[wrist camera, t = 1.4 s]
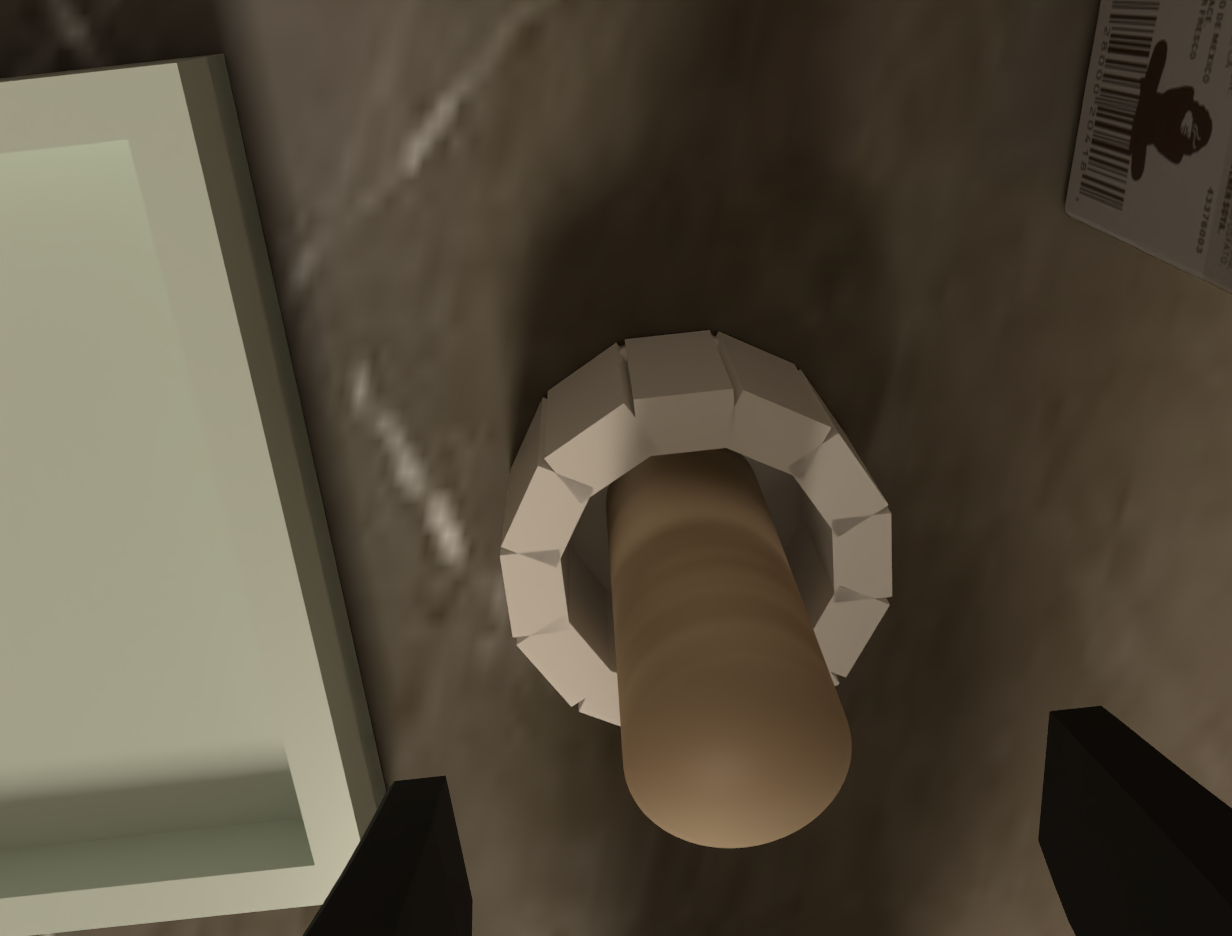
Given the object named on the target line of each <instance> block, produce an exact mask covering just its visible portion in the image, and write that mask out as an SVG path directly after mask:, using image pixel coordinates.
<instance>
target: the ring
mask: <svg viewBox="0 0 1232 936" xmlns="http://www.w3.org/2000/svg"><path fill="white" fill-rule="evenodd" d="M720 448H728V449H730V450H732V451H735V452H737V453H740V454H742V455H743V456H744V457H745V459H746V460H747V461H748V463H749V464H750V466H751V467H752V469H753V471H754V473H755V476H756V478H757V481H758V483H759V486H760V489H761V491H762V494H763V497H764V499H765V502H766V505H767V507H768V510H769V513H770V515H771V518H772V521H773V523H774V526H775V529H776V531H777V534H778V537H779V539H780V542H781V545H782V547H783V550H784V553H785V555H786V558H787V561H788V563H789V566H790V569H791V571H792V574H793V577H794V579H795V582H796V585H797V587H798V590H799V593H800V595H801V598H802V601H803V603H804V606H805V609H806V611H807V614H808V617H809V619H810V622H811V625H812V627H813V630H814V633H815V635H816V638H817V641H818V643H819V646H820V649H821V651H822V654H823V657H824V659H825V662H826V665H827V667H828V670H829V673H830V675H831V678H832V681H833V683H834V686H837V685H838V684H840V683H839V681H838V678H837V675H836V674H838V675H841V676H843V677H847V675H848V673H849V672H850V670H851V668H852V667H853V665H854V663H855V662H856V660H857V658H858V657H859V655H860V654H861V652H862V650H863V649H864V647H865V645H866V644H867V642H868V640H869V639H870V637H871V635H872V634H873V632H874V630H875V629H876V627H877V625H878V624H879V622H880V620H881V619H882V617H883V615H884V614H885V612H886V611H887V609H888V607H889V606H890V604H889V602H888V600H887V598H886V597H892V535H891V512H890V510H889V509H888V507H887V506H888V503H887V502H886V500H885V498H884V497H883V495H882V493H881V492H880V490H879V488H878V487H877V485H876V483H875V482H874V480H873V479H872V477H871V475H870V474H869V472H868V470H867V469H866V467H865V465H864V464H863V462H862V460H861V459H860V457H859V456H858V454H857V452H856V451H855V449H854V447H853V446H852V444H851V442H850V441H849V439H848V438H847V436H846V434H845V433H844V431H843V430H842V428H841V427H840V425H839V424H838V422H837V421H836V420H835V418H834V417H833V415H832V414H831V412H830V411H829V409H828V408H827V407H826V405H825V404H824V402H823V401H822V399H821V398H820V397H819V395H818V394H817V392H816V391H815V389H814V388H813V386H812V385H811V384H810V382H809V381H808V379H807V378H806V376H805V375H804V373H803V372H802V371H801V369H800V370H797V368H796V366H795V365H794V364H793V363H791V362H788V361H786V360H784V359H781V358H779V357H777V356H775V355H772V354H770V353H768V352H765V351H763V350H761V349H758V348H756V347H754V346H751V345H749V344H747V343H744V342H742V341H740V340H738V339H735V338H733V337H731V336H728V335H726V334H724V333H721V332H719V331H718V333H717V335H716V336H713V335H712V334H711V332H710V330H705V331H696V332H687V333H678V334H668V335H659V336H650V337H641V338H632V339H625V345H622V346H620V347H619V345H618V344H617V343H615V344H613V345H612V346H611V347H609V348H608V349H606V350H605V351H603V352H602V353H601V354H599V355H598V356H596V357H595V358H594V359H592V360H591V361H589V362H588V363H586V364H585V365H584V366H582V367H581V368H579V369H578V370H577V371H575V372H574V373H572V374H571V375H570V376H568V377H567V378H565V379H564V380H562V381H561V382H560V383H558V384H557V385H555V386H554V387H553V388H551V389H550V390H548V398H547V399H546V398H543V397H542V400H541V402H540V404H539V406H538V409H537V411H536V413H535V415H534V418H533V420H532V422H531V424H530V427H529V429H528V431H527V433H526V436H525V438H524V440H523V442H522V445H521V447H520V449H519V451H518V454H517V456H516V458H515V460H514V462H513V465H512V467H511V471H510V478H509V486H508V494H507V502H506V510H505V518H504V526H503V534H502V542H501V550H500V560H501V567H502V573H503V579H504V585H505V592H506V598H507V604H508V611H509V617H510V623H511V630H512V636H513V637H517V644H516V645H517V646H518V647H519V649H520V650H521V651H522V652H523V653H524V654H525V655H526V656H527V658H528V659H529V660H530V661H531V662H532V663H533V664H534V665H535V667H536V668H537V669H538V670H539V671H540V672H541V673H542V674H543V676H544V677H545V678H546V679H547V680H548V681H549V682H550V683H551V684H552V686H553V687H554V688H555V689H556V690H557V691H558V692H559V693H560V695H561V696H562V697H563V698H564V699H565V700H566V701H567V702H568V704H569V705H570V706H571V707H572V706H574V705H575V704H577V703H578V702H579V712H581V713H584V714H587V715H590V716H592V717H595V718H598V719H601V720H604V721H606V722H609V723H612V724H615V725H618V726H621V725H620V710H619V695H618V680H617V665H616V650H615V634H614V619H613V604H612V589H611V574H610V559H609V544H608V529H607V514H606V498H607V491H608V487H609V484H610V483H612V482H613V481H615V480H616V479H618V478H619V477H620V476H622V475H623V474H625V473H626V472H628V471H629V470H631V469H632V468H634V467H635V466H637V465H638V464H640V463H641V462H643V461H644V460H646V459H647V458H648V457H650V456H656V455H665V454H674V453H683V452H693V451H702V450H711V449H720Z"/></svg>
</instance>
